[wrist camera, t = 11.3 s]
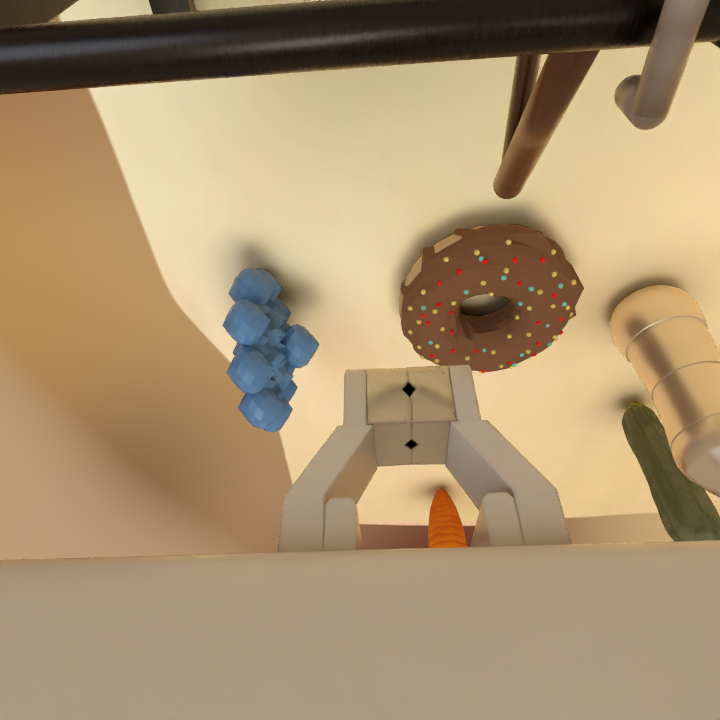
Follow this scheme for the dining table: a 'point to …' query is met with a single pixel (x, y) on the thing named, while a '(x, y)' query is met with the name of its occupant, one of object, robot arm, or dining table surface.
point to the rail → (305, 37)
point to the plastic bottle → (676, 374)
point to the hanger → (564, 76)
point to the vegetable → (669, 480)
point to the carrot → (445, 523)
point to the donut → (497, 278)
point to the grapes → (265, 349)
